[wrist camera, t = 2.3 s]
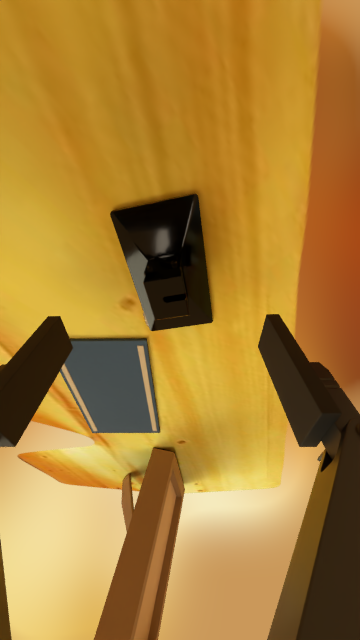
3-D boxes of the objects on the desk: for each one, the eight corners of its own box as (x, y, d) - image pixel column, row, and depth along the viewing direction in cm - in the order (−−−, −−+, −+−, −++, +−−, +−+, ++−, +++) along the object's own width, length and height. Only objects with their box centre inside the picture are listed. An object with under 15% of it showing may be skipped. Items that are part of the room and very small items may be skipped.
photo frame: (174, 446, 42) (168, 705, 22) (184, 484, 55) (186, 669, 35) (101, 450, 43) (32, 699, 23) (128, 486, 56) (99, 666, 36)
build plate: (212, 320, 24) (218, 350, 20) (148, 329, 25) (142, 359, 21) (197, 192, 16) (202, 203, 13) (107, 211, 17) (86, 227, 14)
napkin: (45, 339, 25) (43, 341, 25) (146, 338, 25) (146, 341, 25) (93, 430, 39) (92, 433, 38) (160, 430, 38) (159, 433, 38)
